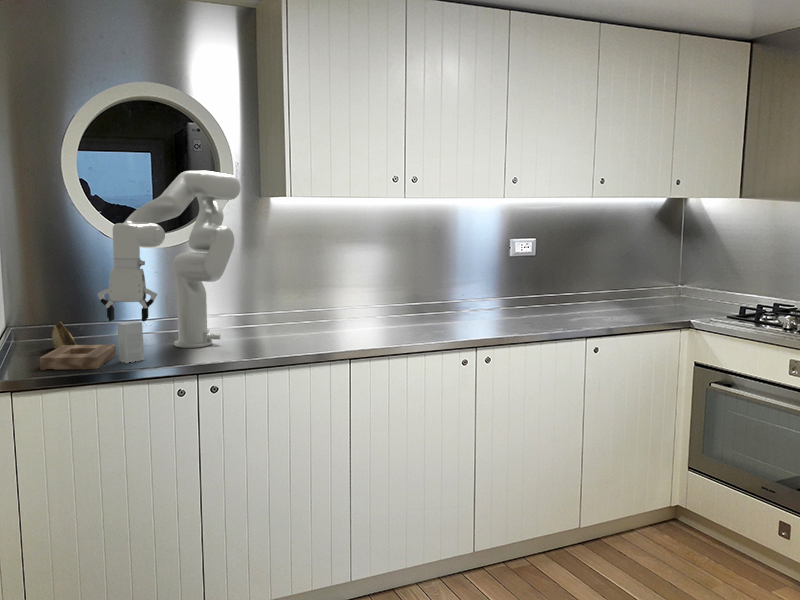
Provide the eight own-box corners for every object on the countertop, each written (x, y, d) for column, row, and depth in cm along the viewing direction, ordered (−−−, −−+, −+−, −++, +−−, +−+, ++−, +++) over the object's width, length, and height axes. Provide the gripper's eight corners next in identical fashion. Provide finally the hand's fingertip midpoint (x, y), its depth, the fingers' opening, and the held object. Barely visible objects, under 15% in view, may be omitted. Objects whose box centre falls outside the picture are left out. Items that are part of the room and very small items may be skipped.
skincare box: (137, 358, 221) (135, 320, 220) (144, 360, 219) (142, 322, 217) (118, 361, 217) (116, 323, 215) (126, 363, 214) (124, 324, 212)
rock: (43, 341, 235) (41, 342, 226) (59, 319, 237) (58, 320, 227) (73, 358, 238) (72, 361, 229) (89, 337, 240) (88, 338, 231)
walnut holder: (115, 355, 225) (115, 344, 224) (97, 368, 207) (96, 357, 207) (63, 356, 223) (62, 345, 223) (40, 369, 206) (39, 357, 205)
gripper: (159, 264, 218) (160, 319, 220) (101, 263, 216) (102, 318, 218) (153, 265, 210) (154, 322, 212) (92, 264, 209) (94, 322, 211)
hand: (127, 320), depth 215 cm, fingers open, 9 cm apart
